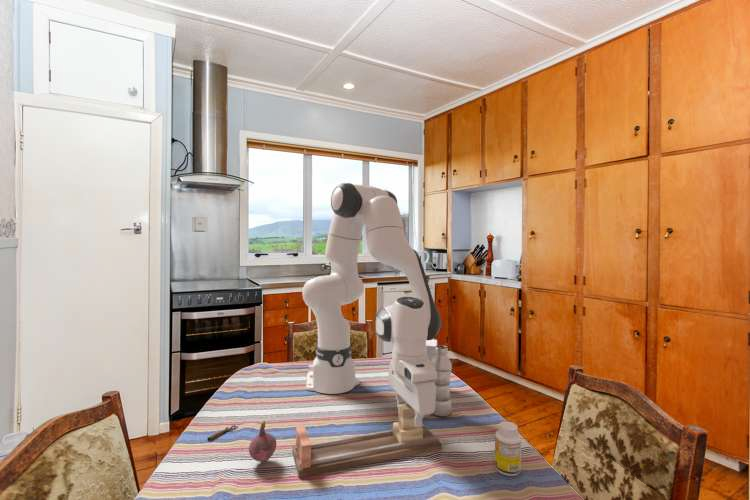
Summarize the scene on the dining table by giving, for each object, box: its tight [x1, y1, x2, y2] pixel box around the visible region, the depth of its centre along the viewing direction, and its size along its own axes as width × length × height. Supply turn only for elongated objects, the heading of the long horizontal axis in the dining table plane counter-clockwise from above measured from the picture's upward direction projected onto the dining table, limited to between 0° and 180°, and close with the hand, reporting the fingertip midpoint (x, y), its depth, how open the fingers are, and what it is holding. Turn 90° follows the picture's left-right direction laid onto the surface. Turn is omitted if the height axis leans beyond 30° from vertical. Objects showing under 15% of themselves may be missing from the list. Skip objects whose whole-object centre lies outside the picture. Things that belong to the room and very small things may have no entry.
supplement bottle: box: [494, 420, 522, 477], centre depth 87 cm, size 6×6×10 cm
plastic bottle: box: [430, 345, 453, 417], centre depth 113 cm, size 6×7×20 cm
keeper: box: [392, 402, 423, 443], centre depth 97 cm, size 5×6×8 cm
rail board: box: [292, 423, 443, 479], centre depth 93 cm, size 10×35×6 cm, turn 110°
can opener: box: [207, 424, 239, 442], centre depth 101 cm, size 9×2×1 cm, turn 145°
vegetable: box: [248, 420, 277, 464], centre depth 88 cm, size 6×6×10 cm
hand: (409, 417), depth 97 cm, fingers open, 8 cm apart
